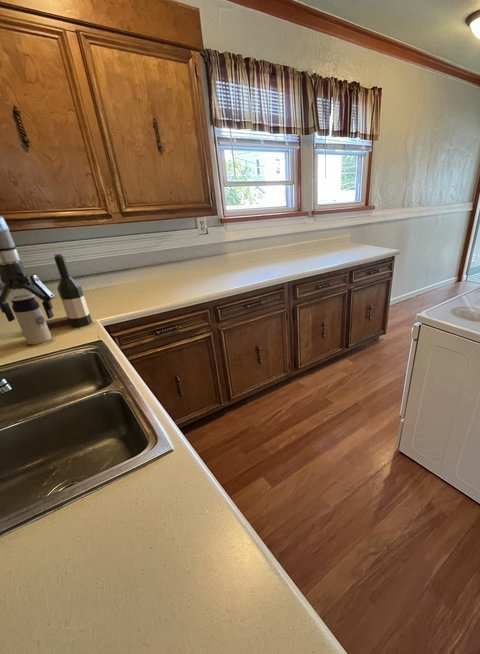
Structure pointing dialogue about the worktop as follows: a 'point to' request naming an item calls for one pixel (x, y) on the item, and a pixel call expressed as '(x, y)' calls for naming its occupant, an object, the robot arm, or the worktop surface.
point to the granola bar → (57, 322)
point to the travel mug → (30, 318)
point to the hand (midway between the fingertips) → (31, 318)
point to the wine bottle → (72, 296)
